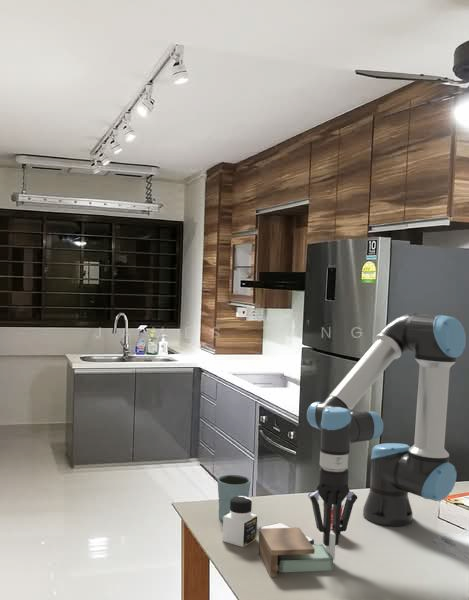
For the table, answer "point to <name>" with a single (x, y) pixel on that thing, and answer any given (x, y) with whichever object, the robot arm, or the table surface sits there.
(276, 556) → the walnut shelf
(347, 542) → the table surface
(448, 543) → the table surface
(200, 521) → the table surface
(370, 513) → the robot arm
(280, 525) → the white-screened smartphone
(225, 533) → the medicine bottle
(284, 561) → the bevelled sage-green slab
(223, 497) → the teal tapered cup
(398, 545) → the table surface
